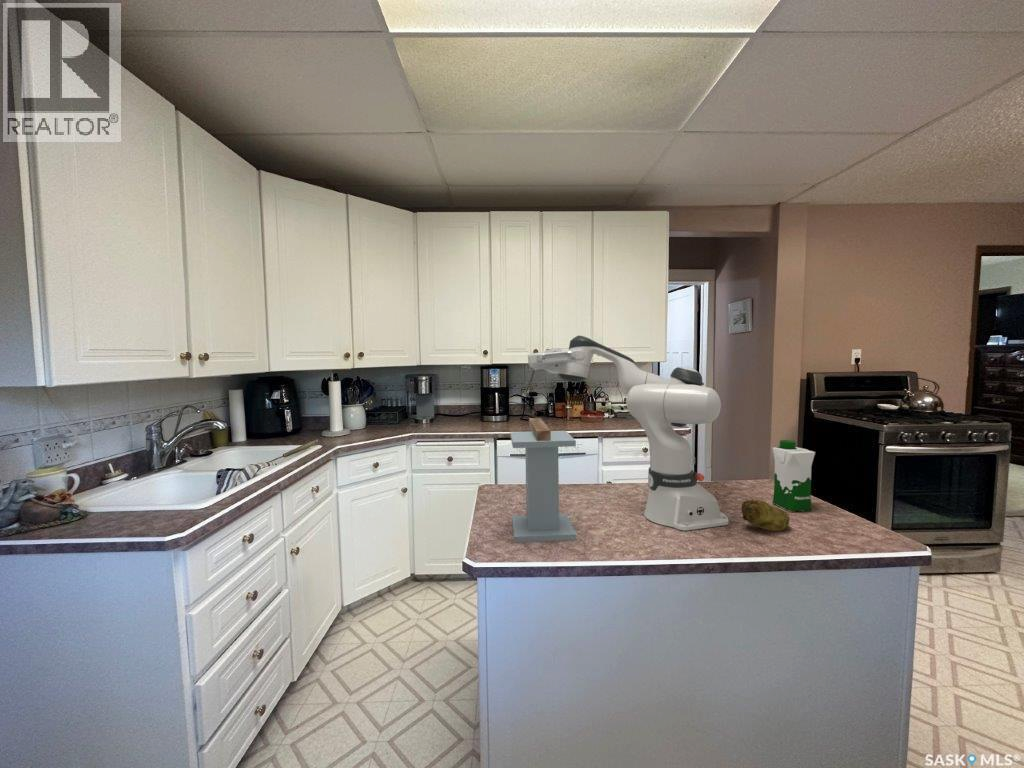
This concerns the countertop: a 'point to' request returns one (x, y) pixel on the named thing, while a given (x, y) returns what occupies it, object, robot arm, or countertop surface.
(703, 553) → the countertop surface
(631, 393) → the robot arm
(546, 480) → the stand
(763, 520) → the potato
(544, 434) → the block
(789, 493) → the milk carton
